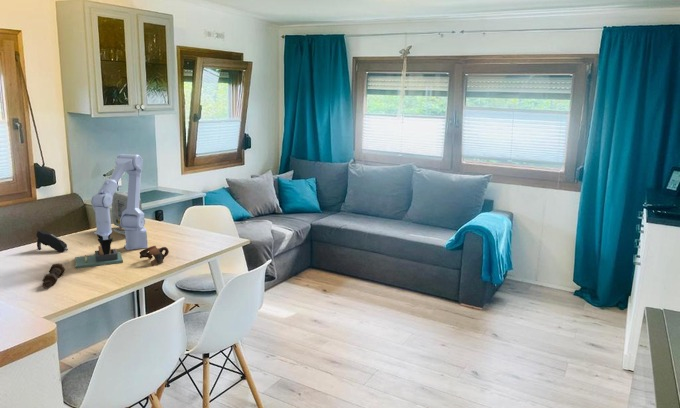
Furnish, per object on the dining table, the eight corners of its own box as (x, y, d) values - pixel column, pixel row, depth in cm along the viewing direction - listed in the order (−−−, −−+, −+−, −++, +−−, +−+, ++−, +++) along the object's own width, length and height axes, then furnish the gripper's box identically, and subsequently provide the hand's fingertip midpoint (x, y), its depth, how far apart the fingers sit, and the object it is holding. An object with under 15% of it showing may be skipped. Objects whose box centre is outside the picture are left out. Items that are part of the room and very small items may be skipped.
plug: (110, 255, 223) (109, 242, 222) (111, 258, 220) (110, 245, 219) (99, 257, 221) (98, 244, 220) (99, 260, 218) (98, 246, 217)
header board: (120, 254, 229) (119, 246, 229) (122, 262, 218) (122, 254, 217) (75, 259, 221) (74, 251, 220) (76, 268, 210) (75, 260, 209)
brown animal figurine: (146, 268, 213) (138, 251, 213) (144, 272, 221) (136, 255, 221) (173, 257, 219) (165, 239, 219) (170, 260, 227) (162, 244, 227)
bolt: (45, 294, 188) (56, 278, 202) (58, 286, 189) (68, 272, 203) (35, 281, 186) (47, 267, 200) (47, 274, 187) (58, 260, 201)
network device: (147, 234, 262) (145, 196, 258) (131, 237, 255) (128, 199, 251) (124, 225, 278) (121, 189, 274) (108, 228, 272) (105, 192, 268)
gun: (59, 263, 232) (66, 246, 229) (30, 246, 233) (37, 228, 230) (64, 262, 235) (71, 244, 232) (35, 244, 236) (42, 226, 233)
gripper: (92, 218, 222) (94, 248, 225) (93, 226, 209) (96, 257, 212) (109, 217, 225) (112, 246, 228) (112, 224, 213) (114, 255, 215)
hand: (105, 251), depth 220 cm, fingers open, 7 cm apart
